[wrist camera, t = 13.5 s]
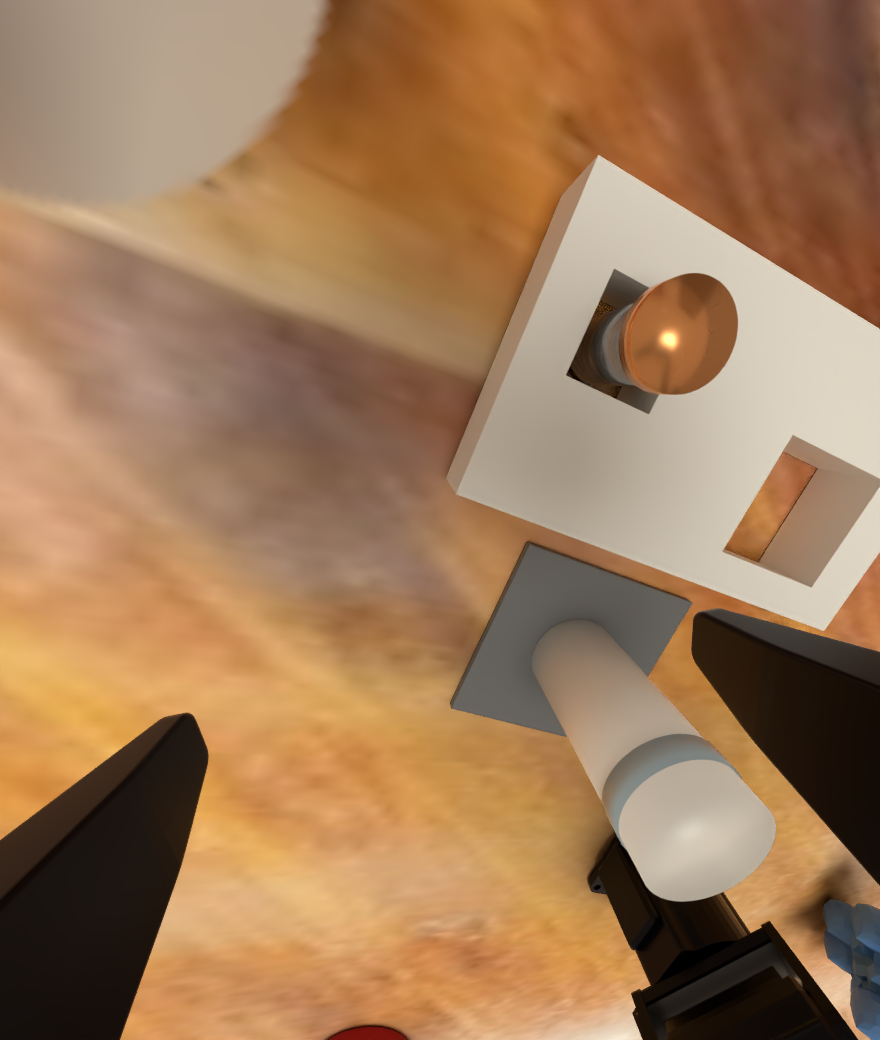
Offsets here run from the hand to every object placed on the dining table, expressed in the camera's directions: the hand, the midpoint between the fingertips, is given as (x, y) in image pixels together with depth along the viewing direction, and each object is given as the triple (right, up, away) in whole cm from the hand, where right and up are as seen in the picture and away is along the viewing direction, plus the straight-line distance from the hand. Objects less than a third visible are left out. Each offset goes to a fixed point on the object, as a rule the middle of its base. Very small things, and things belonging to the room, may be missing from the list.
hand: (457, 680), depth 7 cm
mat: (+7, -4, +15) cm, 17 cm away
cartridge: (+7, -4, +15) cm, 17 cm away
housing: (+11, +7, +13) cm, 18 cm away
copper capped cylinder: (+7, +10, +10) cm, 16 cm away
